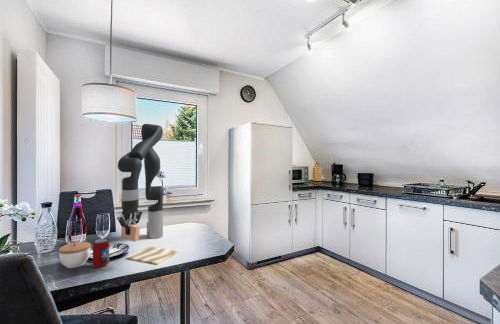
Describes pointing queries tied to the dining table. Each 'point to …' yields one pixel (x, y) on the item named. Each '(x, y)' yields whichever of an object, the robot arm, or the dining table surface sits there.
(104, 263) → the beverage can
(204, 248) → the dining table surface
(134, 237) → the tile
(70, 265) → the lidded bowl
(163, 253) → the striped cloth
